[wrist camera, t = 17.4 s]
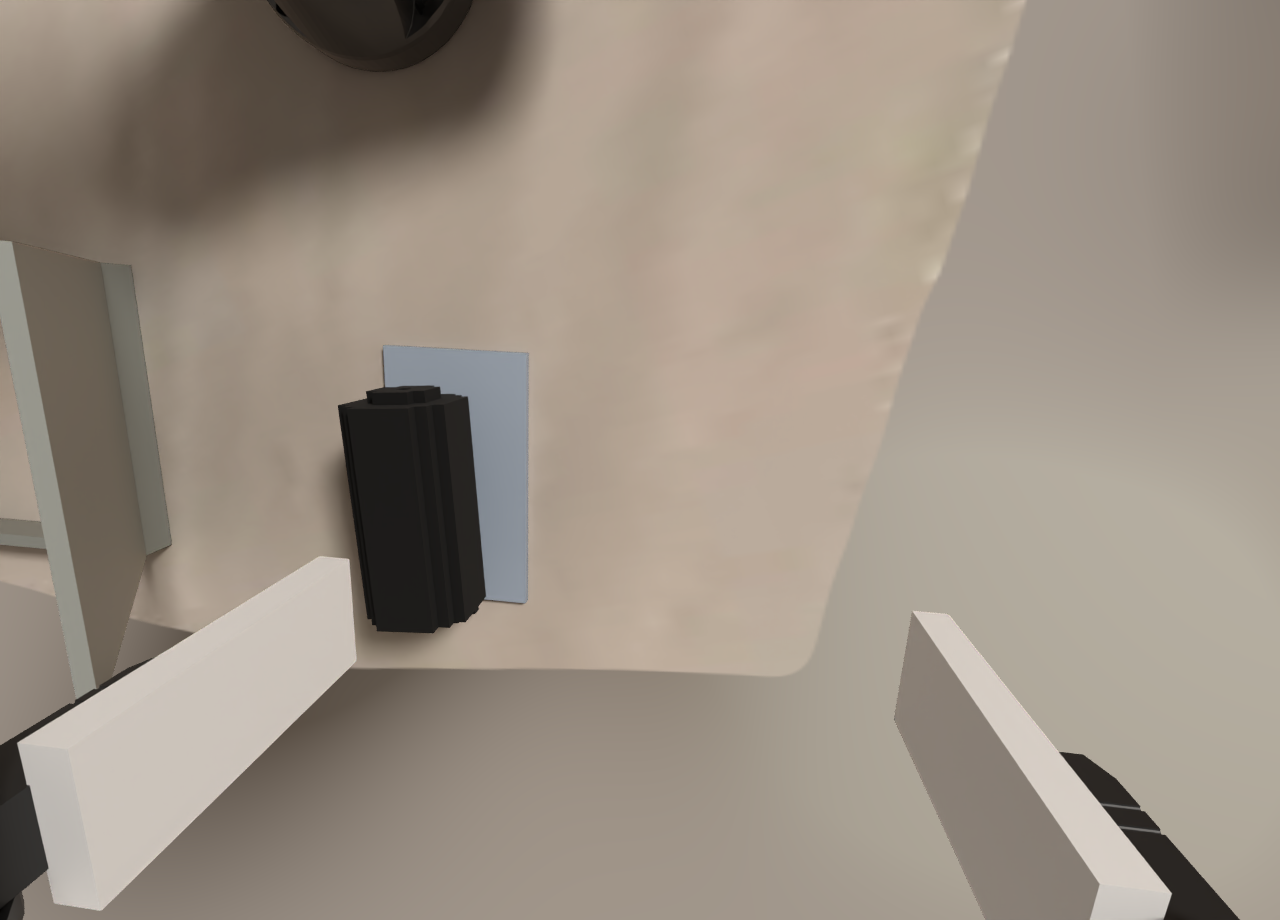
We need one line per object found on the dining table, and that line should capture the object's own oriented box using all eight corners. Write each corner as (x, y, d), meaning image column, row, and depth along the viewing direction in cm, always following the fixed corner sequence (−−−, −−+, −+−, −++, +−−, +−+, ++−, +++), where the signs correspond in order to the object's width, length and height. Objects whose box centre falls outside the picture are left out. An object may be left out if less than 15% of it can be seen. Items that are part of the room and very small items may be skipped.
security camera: (428, 603, 50) (361, 672, 40) (402, 379, 46) (320, 396, 36) (509, 605, 49) (460, 676, 40) (491, 378, 45) (431, 395, 35)
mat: (387, 345, 46) (383, 345, 45) (528, 352, 45) (526, 353, 44) (399, 587, 51) (396, 590, 50) (527, 599, 50) (525, 603, 49)
